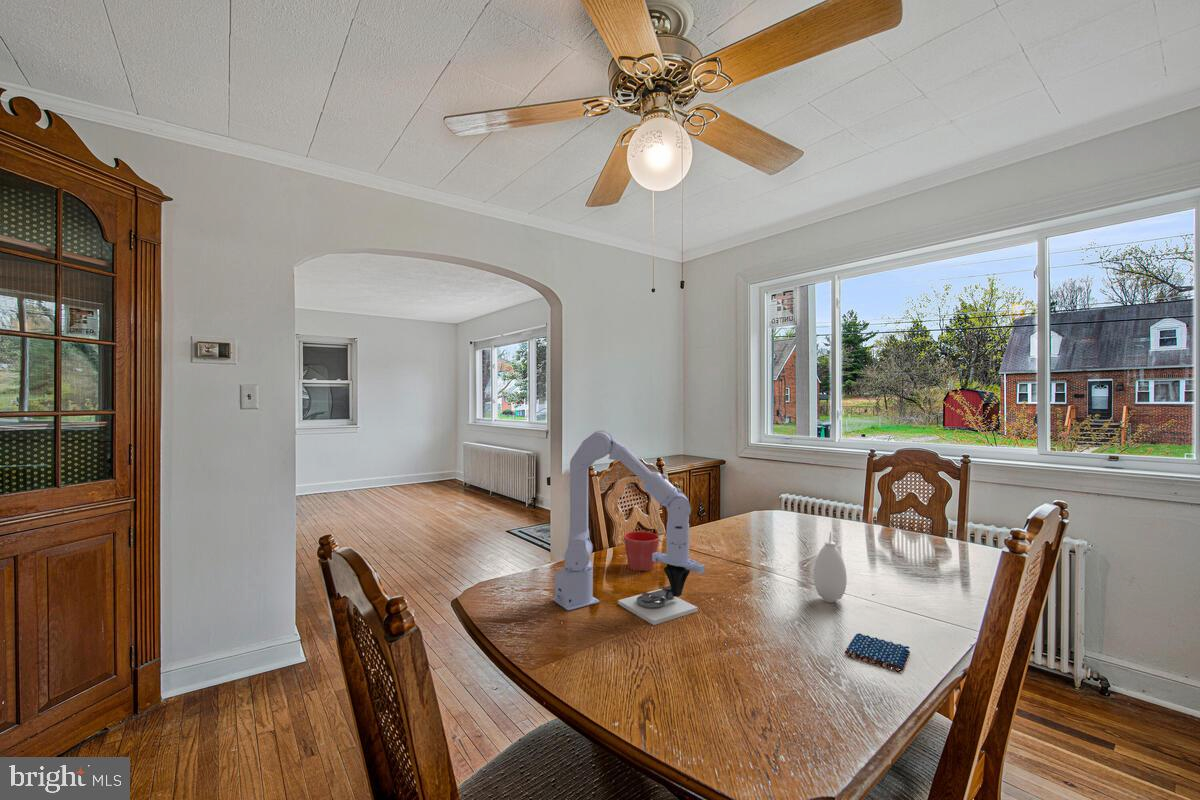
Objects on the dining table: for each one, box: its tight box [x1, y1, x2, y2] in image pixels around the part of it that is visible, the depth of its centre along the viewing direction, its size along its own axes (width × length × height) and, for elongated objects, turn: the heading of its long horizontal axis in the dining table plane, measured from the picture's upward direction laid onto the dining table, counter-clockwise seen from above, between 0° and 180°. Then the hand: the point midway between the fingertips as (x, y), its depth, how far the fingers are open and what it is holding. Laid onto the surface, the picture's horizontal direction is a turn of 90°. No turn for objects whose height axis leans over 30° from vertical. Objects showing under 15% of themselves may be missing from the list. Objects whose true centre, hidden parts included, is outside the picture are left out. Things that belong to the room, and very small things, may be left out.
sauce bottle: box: [812, 532, 848, 604], centre depth 131 cm, size 8×8×18 cm
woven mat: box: [844, 632, 911, 672], centre depth 104 cm, size 10×11×2 cm
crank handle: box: [637, 585, 676, 608], centre depth 127 cm, size 11×7×2 cm, turn 124°
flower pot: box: [623, 530, 660, 572], centre depth 156 cm, size 11×11×10 cm
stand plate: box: [617, 588, 699, 626], centre depth 126 cm, size 14×14×1 cm
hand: (677, 595), depth 127 cm, fingers closed
